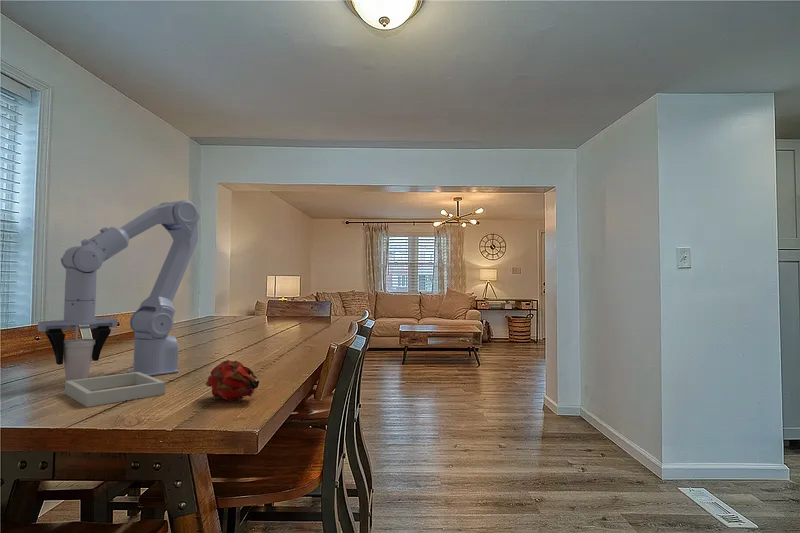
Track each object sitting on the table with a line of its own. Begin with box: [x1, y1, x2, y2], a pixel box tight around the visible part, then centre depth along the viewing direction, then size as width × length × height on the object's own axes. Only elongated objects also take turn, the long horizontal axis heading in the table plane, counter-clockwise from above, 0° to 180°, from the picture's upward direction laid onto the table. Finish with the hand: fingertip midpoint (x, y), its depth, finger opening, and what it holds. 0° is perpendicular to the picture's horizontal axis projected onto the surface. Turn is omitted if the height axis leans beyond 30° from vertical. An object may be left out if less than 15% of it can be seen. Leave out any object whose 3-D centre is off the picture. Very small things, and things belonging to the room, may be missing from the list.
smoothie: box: [63, 325, 96, 381], centre depth 105 cm, size 6×6×14 cm
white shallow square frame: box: [64, 372, 166, 408], centre depth 98 cm, size 14×14×2 cm
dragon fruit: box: [205, 359, 260, 404], centre depth 96 cm, size 8×8×12 cm
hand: (77, 362), depth 105 cm, fingers closed on smoothie, 6 cm apart
